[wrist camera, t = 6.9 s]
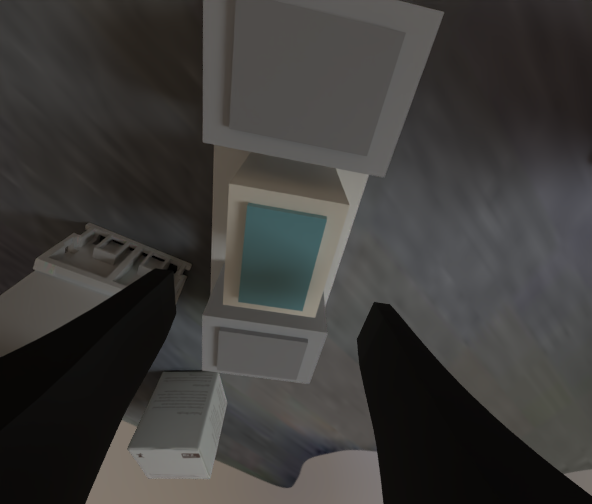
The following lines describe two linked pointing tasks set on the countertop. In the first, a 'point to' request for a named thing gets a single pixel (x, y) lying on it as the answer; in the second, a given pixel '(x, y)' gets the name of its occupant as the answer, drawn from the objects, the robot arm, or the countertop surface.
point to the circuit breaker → (76, 283)
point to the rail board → (300, 135)
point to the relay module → (281, 234)
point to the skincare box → (181, 426)
